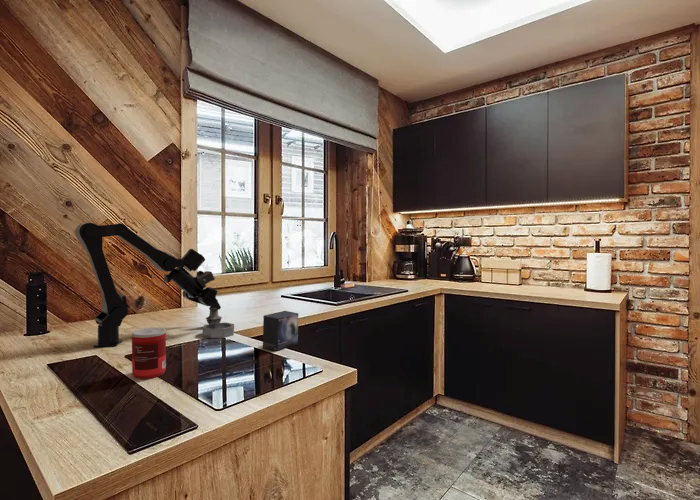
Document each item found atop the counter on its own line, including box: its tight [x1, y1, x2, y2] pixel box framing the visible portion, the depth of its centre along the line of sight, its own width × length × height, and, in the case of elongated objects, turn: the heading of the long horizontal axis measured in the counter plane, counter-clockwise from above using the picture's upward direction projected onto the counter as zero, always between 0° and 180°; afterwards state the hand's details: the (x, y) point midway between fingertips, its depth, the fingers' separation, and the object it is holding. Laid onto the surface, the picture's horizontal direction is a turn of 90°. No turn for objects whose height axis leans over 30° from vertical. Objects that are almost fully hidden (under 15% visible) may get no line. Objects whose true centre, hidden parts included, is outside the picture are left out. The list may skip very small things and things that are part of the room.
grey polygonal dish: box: [202, 322, 235, 339], centre depth 137 cm, size 10×10×3 cm
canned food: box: [131, 327, 167, 380], centre depth 97 cm, size 8×8×11 cm
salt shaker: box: [205, 299, 223, 324], centre depth 148 cm, size 6×6×12 cm
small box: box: [262, 310, 299, 352], centre depth 123 cm, size 11×6×10 cm, turn 149°
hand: (214, 306), depth 148 cm, fingers open, 9 cm apart
